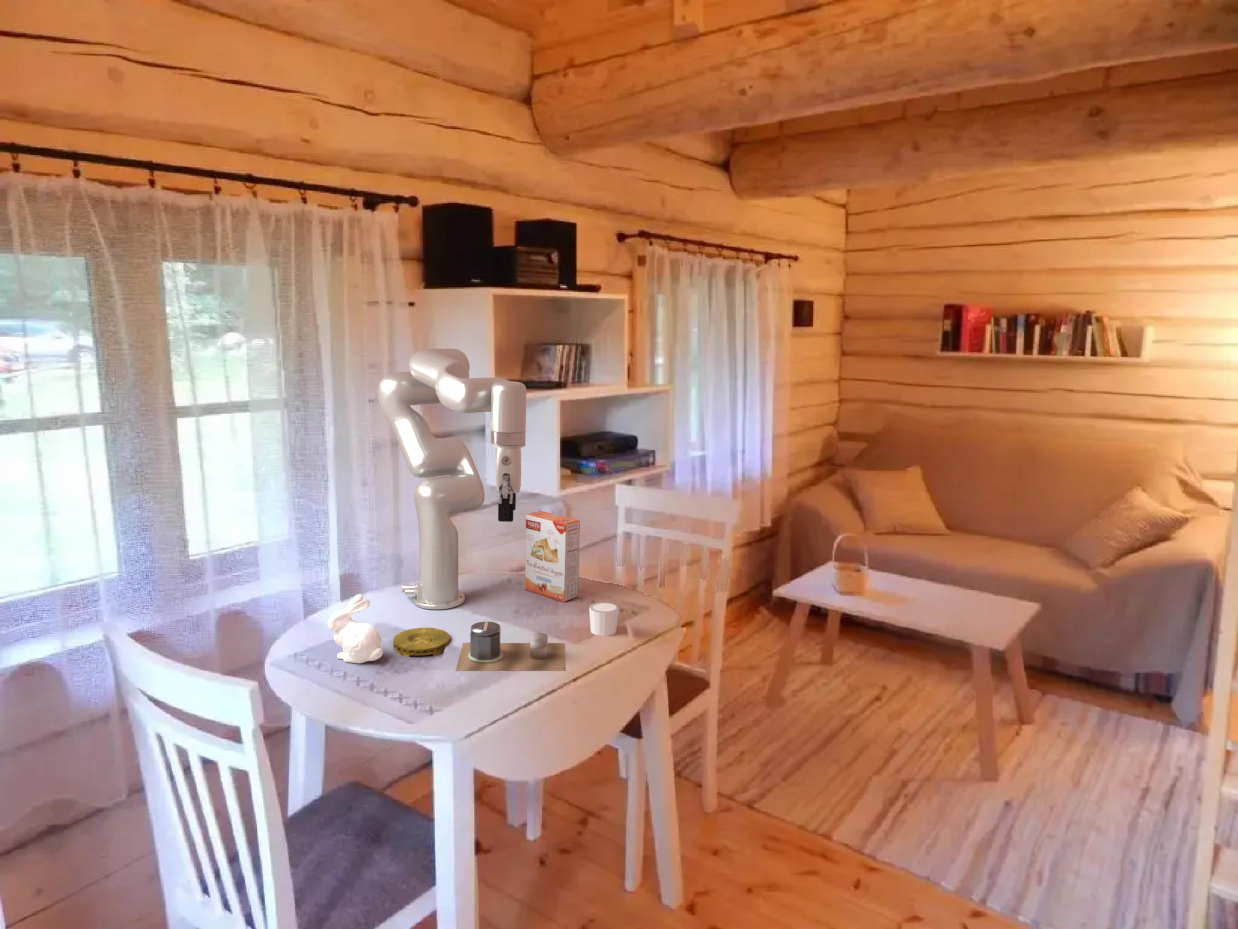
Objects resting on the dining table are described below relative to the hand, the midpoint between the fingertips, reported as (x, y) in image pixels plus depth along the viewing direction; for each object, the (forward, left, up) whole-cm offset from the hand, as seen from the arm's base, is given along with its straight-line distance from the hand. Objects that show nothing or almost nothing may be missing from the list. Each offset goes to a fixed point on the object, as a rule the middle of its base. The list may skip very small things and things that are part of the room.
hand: (507, 515), depth 181 cm
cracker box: (+10, +28, -28) cm, 41 cm away
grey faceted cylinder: (-3, -14, -27) cm, 30 cm away
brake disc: (-18, -6, -29) cm, 34 cm away
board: (+2, -14, -28) cm, 31 cm away
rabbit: (-31, -11, -28) cm, 43 cm away
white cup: (+22, 0, -28) cm, 36 cm away
